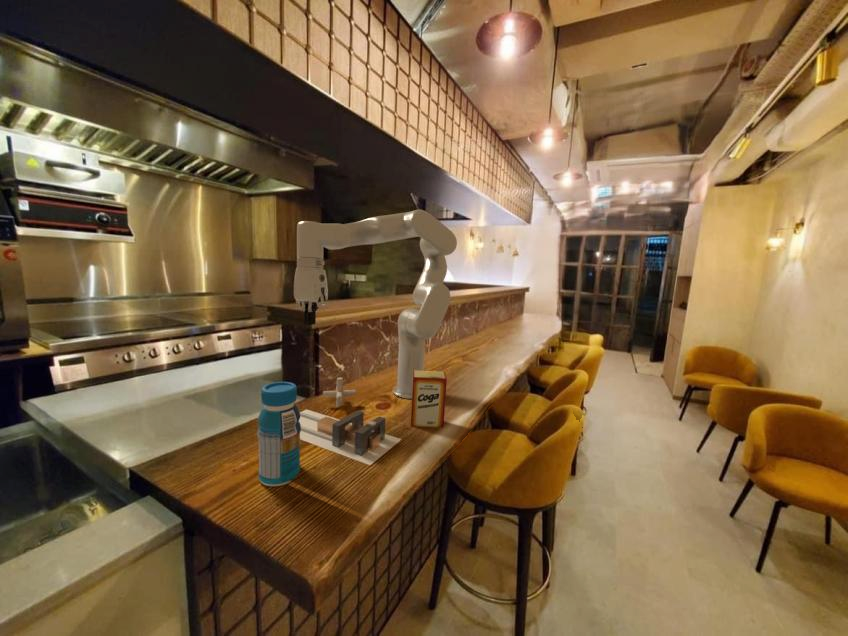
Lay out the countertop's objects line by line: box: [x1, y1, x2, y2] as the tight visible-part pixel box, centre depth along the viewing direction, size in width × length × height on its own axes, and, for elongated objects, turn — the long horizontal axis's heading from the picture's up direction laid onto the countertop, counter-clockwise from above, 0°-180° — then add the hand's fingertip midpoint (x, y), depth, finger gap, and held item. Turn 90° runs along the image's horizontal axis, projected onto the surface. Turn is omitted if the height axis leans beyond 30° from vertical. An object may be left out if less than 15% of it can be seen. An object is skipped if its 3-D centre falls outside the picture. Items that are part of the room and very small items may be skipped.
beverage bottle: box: [256, 381, 301, 487], centre depth 71 cm, size 8×8×20 cm
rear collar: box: [332, 409, 365, 448], centre depth 87 cm, size 10×2×6 cm, turn 153°
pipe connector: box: [322, 377, 357, 407], centre depth 107 cm, size 10×10×10 cm
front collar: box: [355, 416, 386, 456], centre depth 84 cm, size 10×2×6 cm, turn 153°
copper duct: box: [317, 416, 380, 452], centre depth 87 cm, size 18×3×3 cm, turn 63°
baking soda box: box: [410, 370, 448, 429], centre depth 98 cm, size 10×6×16 cm
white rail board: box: [299, 408, 402, 466], centre depth 90 cm, size 14×34×2 cm, turn 63°
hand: (309, 324), depth 103 cm, fingers closed
